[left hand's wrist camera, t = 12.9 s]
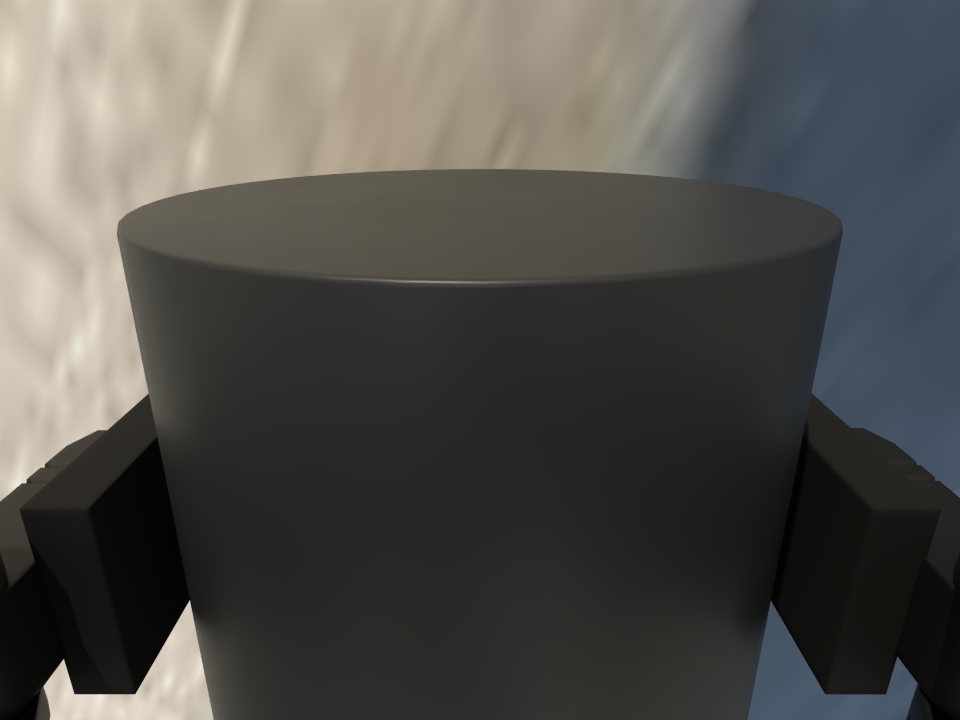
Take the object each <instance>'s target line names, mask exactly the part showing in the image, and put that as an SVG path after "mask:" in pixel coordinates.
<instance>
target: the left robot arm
mask: <svg viewBox="0 0 960 720" xmlns="http://www.w3.org/2000/svg"><path fill="white" fill-rule="evenodd" d="M934 478H935V477H934V476H933V475H932V474H930V473H929V472H928V471H927V470H925V469H924V468H923V467H922V466H921V465H916V461H915V460H913V459H912V458H911V457H910V456H909V455H907V454H906V453H905V452H904V451H903V450H901V449H900V448H899V447H898V446H897V445H895V444H894V443H892V442H890V441H888V440H886V439H884V438H882V437H880V436H878V435H876V434H874V433H872V432H870V431H868V430H866V429H864V428H850V427H849V426H848V425H846V424H845V423H844V422H843V421H842V420H841V419H840V418H839V417H837V416H836V415H835V414H834V413H833V412H832V411H831V410H830V409H828V408H827V407H826V406H825V405H824V404H823V403H822V402H821V401H819V400H818V399H817V398H816V397H815V396H814V395H813V394H812V393H811V397H810V402H809V407H808V412H807V417H806V422H805V428H804V433H803V438H802V443H801V448H800V453H799V458H798V463H797V468H796V473H795V479H794V484H793V489H792V494H791V499H790V504H789V509H788V514H787V519H786V525H785V530H784V535H783V540H782V545H781V550H780V555H779V560H778V565H777V571H776V576H775V581H774V586H773V591H772V596H771V601H772V603H773V605H774V607H775V608H776V610H777V612H778V613H779V615H780V617H781V619H782V620H783V622H784V624H785V626H786V627H787V629H788V631H789V632H790V634H791V636H792V638H793V639H794V641H795V643H796V645H797V646H798V648H799V650H800V651H801V653H802V655H803V657H804V658H805V660H806V662H807V664H808V665H809V667H810V669H811V670H812V672H813V674H814V676H815V677H816V679H817V681H818V683H819V684H820V686H821V688H822V689H823V691H824V693H825V694H886V692H887V689H888V686H889V682H890V679H891V676H892V672H893V669H894V666H895V662H896V659H897V656H898V657H899V659H900V660H901V661H902V663H903V664H904V665H905V667H906V668H907V669H908V671H909V672H910V673H911V675H912V676H913V678H914V679H915V680H916V682H917V683H918V684H917V687H916V690H915V693H914V696H913V699H912V702H911V706H910V709H909V712H908V715H907V718H906V720H960V498H959V497H958V496H957V495H956V494H954V493H953V492H952V491H951V490H950V489H948V488H947V487H946V486H945V485H944V484H942V483H941V482H940V481H935V479H934ZM189 600H190V597H189V592H188V587H187V582H186V577H185V572H184V567H183V562H182V557H181V552H180V547H179V542H178V537H177V532H176V527H175V522H174V517H173V512H172V507H171V502H170V497H169V492H168V487H167V482H166V477H165V472H164V467H163V462H162V457H161V452H160V447H159V442H158V437H157V432H156V427H155V422H154V417H153V412H152V407H151V402H150V397H149V394H148V395H147V396H146V397H144V398H143V399H142V400H141V401H140V402H139V403H138V404H137V405H135V406H134V407H133V408H132V409H131V410H130V411H129V412H128V413H126V414H125V415H124V416H123V417H122V418H121V419H120V420H119V421H117V422H116V423H115V424H114V425H113V426H112V427H111V428H110V429H108V430H98V431H96V432H94V433H92V434H90V435H88V436H86V437H84V438H82V439H80V440H78V441H76V442H74V443H72V444H70V445H68V446H66V447H65V448H64V449H63V450H61V451H60V452H59V453H58V454H57V455H55V456H54V457H53V458H52V459H51V460H49V461H48V462H47V463H46V464H45V468H40V469H39V470H37V471H36V472H35V473H34V474H33V475H32V476H30V477H29V478H28V479H27V483H22V484H21V485H20V486H18V487H17V488H16V489H15V490H14V491H12V492H11V493H10V494H9V495H8V496H7V497H5V498H4V499H3V500H2V501H1V502H0V720H50V710H49V704H48V699H47V696H46V693H45V690H44V687H43V686H44V685H45V683H46V682H47V681H48V679H49V678H50V677H51V675H52V674H53V672H54V671H55V670H56V668H57V667H58V666H59V664H60V663H61V662H62V660H63V659H64V660H65V664H66V667H67V671H68V674H69V677H70V681H71V684H72V687H73V691H74V694H136V692H137V690H138V688H139V687H140V685H141V683H142V682H143V680H144V678H145V676H146V675H147V673H148V671H149V669H150V668H151V666H152V664H153V663H154V661H155V659H156V657H157V656H158V654H159V652H160V651H161V649H162V647H163V645H164V644H165V642H166V640H167V638H168V637H169V635H170V633H171V632H172V630H173V628H174V626H175V625H176V623H177V621H178V619H179V618H180V616H181V614H182V613H183V611H184V609H185V607H186V606H187V604H188V602H189Z"/></svg>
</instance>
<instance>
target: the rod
mask: <svg viewBox="0 0 960 720" xmlns="http://www.w3.org/2000/svg"><path fill="white" fill-rule="evenodd" d="M842 233H843V232H842V223H841V220H840V219H839V218H838V217H837V216H836V215H835V214H834V213H832V212H830V211H828V210H826V209H824V208H822V207H821V206H818V205H816V204H813V203H810V202H807V201H805V200H802V199H799V198H795V197H791V196H787V195H783V194H780V193H775V192H770V191H765V190H760V189H755V188H749V187H743V186H737V185H730V184H723V183H716V182H708V181H700V180H691V179H682V178H671V177H660V176H649V175H635V174H620V173H603V172H582V171H556V170H510V169H460V170H412V171H385V172H364V173H347V174H332V175H319V176H306V177H296V178H285V179H275V180H267V181H258V182H250V183H243V184H236V185H228V186H222V187H216V188H210V189H205V190H199V191H195V192H190V193H185V194H180V195H176V196H173V197H169V198H165V199H161V200H158V201H155V202H153V203H150V204H147V205H144V206H142V207H139V208H137V209H136V210H134V211H132V212H130V213H128V214H126V215H125V216H124V217H123V218H122V219H121V220H120V221H119V223H118V229H117V237H118V242H119V247H120V252H121V257H122V262H123V267H124V272H125V277H126V282H127V287H128V292H129V297H130V302H131V307H132V312H133V317H134V322H135V327H136V332H137V337H138V342H139V347H140V352H141V357H142V362H143V367H144V372H145V377H146V382H147V387H148V392H149V397H150V402H151V407H152V412H153V417H154V422H155V427H156V432H157V437H158V442H159V447H160V452H161V457H162V462H163V467H164V472H165V477H166V482H167V487H168V492H169V497H170V502H171V507H172V512H173V517H174V522H175V527H176V532H177V537H178V542H179V547H180V552H181V557H182V562H183V567H184V572H185V577H186V582H187V587H188V592H189V597H190V602H191V608H192V613H193V618H194V623H195V628H196V633H197V638H198V643H199V648H200V653H201V658H202V663H203V668H204V673H205V678H206V683H207V688H208V693H209V698H210V703H211V708H212V713H213V718H214V720H747V719H748V713H749V708H750V703H751V698H752V693H753V688H754V683H755V678H756V673H757V668H758V662H759V657H760V652H761V647H762V642H763V637H764V632H765V627H766V622H767V616H768V611H769V606H770V601H771V596H772V591H773V586H774V581H775V576H776V571H777V565H778V560H779V555H780V550H781V545H782V540H783V535H784V530H785V525H786V519H787V514H788V509H789V504H790V499H791V494H792V489H793V484H794V479H795V473H796V468H797V463H798V458H799V453H800V448H801V443H802V438H803V433H804V428H805V422H806V417H807V412H808V407H809V402H810V397H811V392H812V387H813V382H814V376H815V371H816V366H817V361H818V356H819V351H820V346H821V341H822V336H823V331H824V325H825V320H826V315H827V310H828V305H829V300H830V295H831V290H832V285H833V279H834V274H835V269H836V264H837V259H838V254H839V249H840V244H841V239H842Z"/></svg>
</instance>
